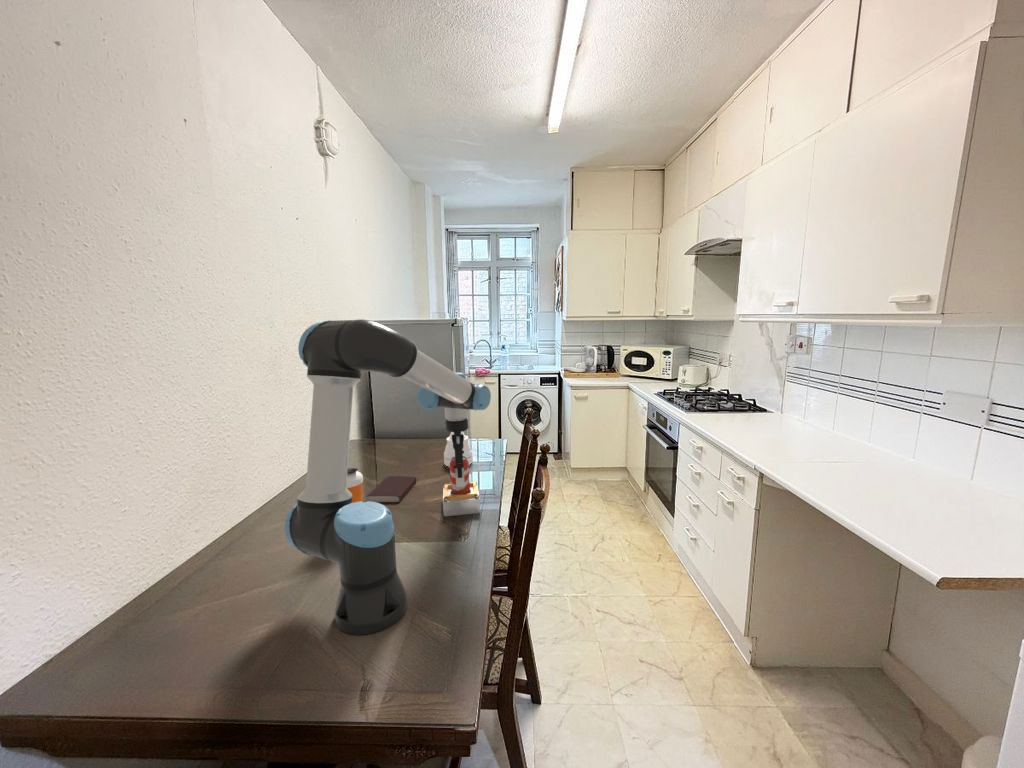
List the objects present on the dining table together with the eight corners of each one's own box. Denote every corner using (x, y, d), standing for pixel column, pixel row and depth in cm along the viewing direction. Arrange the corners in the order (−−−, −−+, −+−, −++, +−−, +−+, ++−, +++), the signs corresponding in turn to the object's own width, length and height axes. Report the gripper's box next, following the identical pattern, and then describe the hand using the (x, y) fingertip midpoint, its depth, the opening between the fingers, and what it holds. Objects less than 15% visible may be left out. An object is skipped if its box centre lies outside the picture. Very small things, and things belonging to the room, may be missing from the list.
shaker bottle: (357, 539, 125) (351, 474, 123) (330, 537, 127) (324, 473, 125) (372, 525, 134) (367, 464, 131) (347, 523, 136) (341, 463, 133)
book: (417, 483, 170) (416, 475, 170) (400, 503, 151) (399, 494, 151) (387, 483, 172) (386, 475, 171) (366, 503, 153) (365, 494, 152)
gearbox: (480, 512, 140) (479, 495, 139) (443, 516, 139) (442, 498, 138) (477, 496, 154) (476, 480, 153) (444, 499, 152) (443, 483, 151)
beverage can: (449, 495, 143) (447, 461, 141) (454, 487, 149) (453, 455, 147) (466, 495, 142) (464, 461, 140) (471, 488, 148) (469, 455, 146)
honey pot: (462, 457, 201) (460, 420, 199) (478, 463, 191) (476, 424, 189) (439, 463, 193) (436, 425, 191) (454, 470, 183) (451, 429, 181)
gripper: (469, 426, 130) (472, 491, 133) (466, 410, 155) (469, 466, 158) (445, 427, 129) (448, 494, 132) (445, 411, 154) (449, 468, 157)
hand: (460, 479), depth 145 cm, fingers open, 13 cm apart
